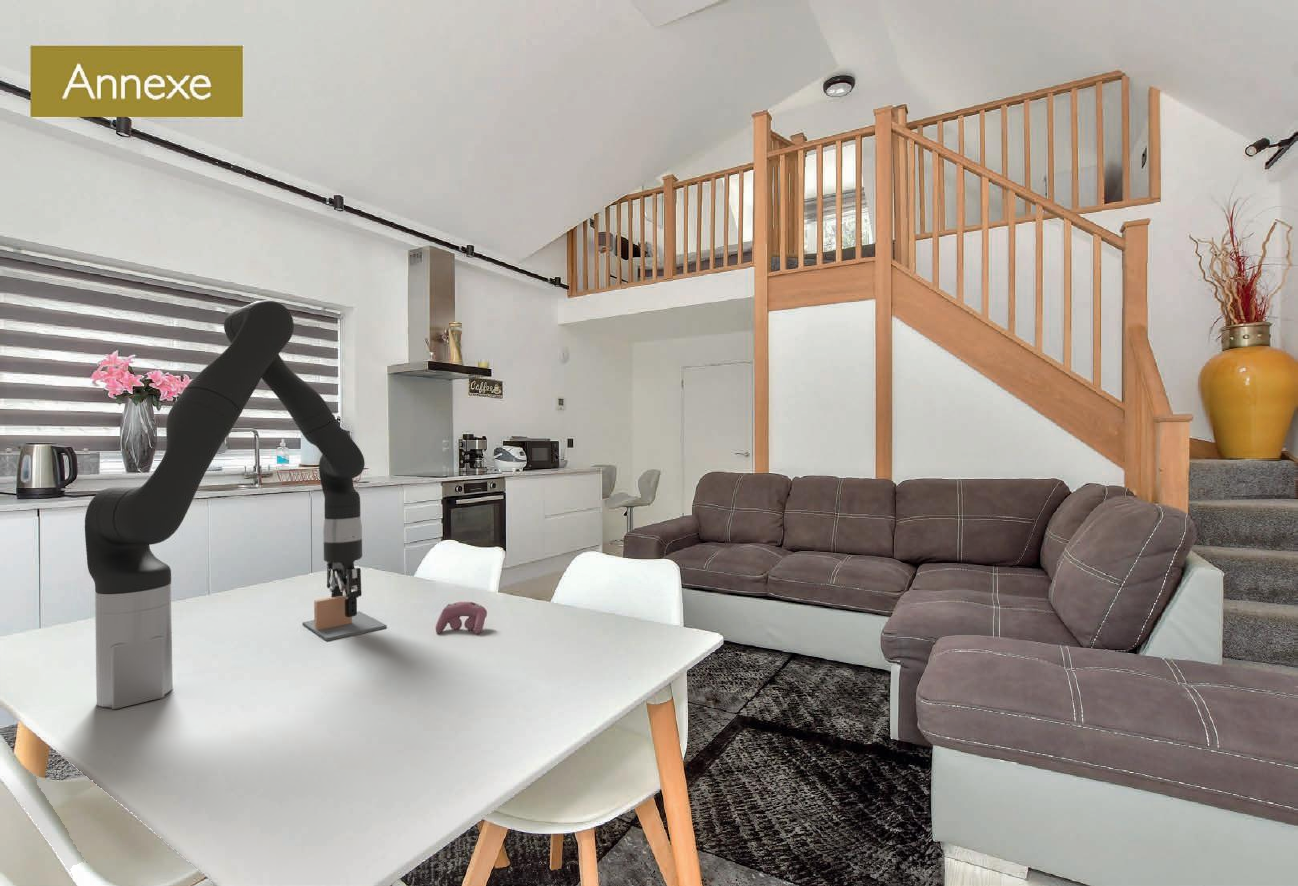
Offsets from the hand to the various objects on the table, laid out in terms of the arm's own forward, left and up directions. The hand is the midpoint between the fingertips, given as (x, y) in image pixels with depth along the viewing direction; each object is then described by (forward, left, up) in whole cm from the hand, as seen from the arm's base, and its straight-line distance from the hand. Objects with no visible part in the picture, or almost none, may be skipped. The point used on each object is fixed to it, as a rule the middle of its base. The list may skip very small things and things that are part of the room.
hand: (343, 612), depth 132 cm
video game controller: (-22, -16, -3) cm, 27 cm away
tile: (0, -1, +1) cm, 2 cm away
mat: (0, 0, -3) cm, 3 cm away
